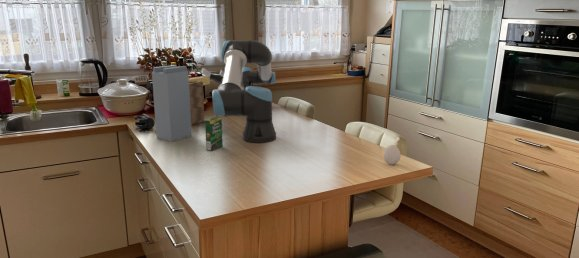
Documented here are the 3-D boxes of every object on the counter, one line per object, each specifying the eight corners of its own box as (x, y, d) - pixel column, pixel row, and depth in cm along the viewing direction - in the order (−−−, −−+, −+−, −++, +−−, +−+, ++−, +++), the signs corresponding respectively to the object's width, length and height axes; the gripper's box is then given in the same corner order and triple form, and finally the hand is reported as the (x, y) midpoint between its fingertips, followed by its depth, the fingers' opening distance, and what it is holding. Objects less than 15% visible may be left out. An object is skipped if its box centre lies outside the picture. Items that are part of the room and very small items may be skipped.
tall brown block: (191, 118, 239) (189, 80, 234) (204, 121, 233) (202, 81, 228) (176, 122, 231) (174, 82, 226) (190, 125, 225) (187, 84, 220)
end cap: (155, 130, 216) (154, 116, 214) (140, 132, 212) (139, 118, 210) (149, 126, 224) (148, 112, 222) (135, 127, 220) (134, 114, 218)
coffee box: (211, 151, 182) (209, 120, 179) (205, 150, 183) (204, 119, 180) (223, 146, 189) (222, 116, 186) (217, 145, 190) (216, 115, 187)
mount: (177, 132, 211) (172, 65, 203) (191, 135, 206) (188, 66, 198) (156, 137, 202) (151, 67, 194) (171, 141, 196) (166, 69, 188)
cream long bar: (204, 83, 239) (204, 76, 238) (210, 84, 237) (209, 76, 236) (172, 88, 222) (172, 80, 221) (178, 89, 219) (177, 81, 218)
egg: (387, 160, 171) (389, 141, 170) (402, 164, 168) (403, 144, 166) (380, 164, 167) (381, 145, 165) (395, 168, 163) (396, 148, 161)
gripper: (249, 94, 249) (226, 79, 231) (216, 90, 262) (192, 75, 245) (253, 82, 250) (230, 66, 233) (220, 78, 264) (197, 63, 247)
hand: (211, 71), depth 239 cm, fingers open, 13 cm apart
